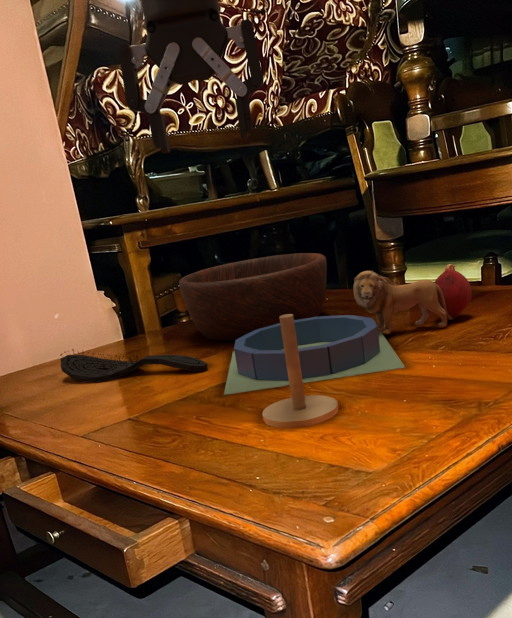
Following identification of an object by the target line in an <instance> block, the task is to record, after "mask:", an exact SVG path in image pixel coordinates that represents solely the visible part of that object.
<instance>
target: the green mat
mask: <svg viewBox="0 0 512 618" xmlns="http://www.w3.org/2000/svg"><path fill="white" fill-rule="evenodd" d="M378 335H379V345H380V353H378V354H377V355H376V356H374V357H373V358H372V359H370V360H369V361H368V362H366V363H364V364H362V365H359V366H356V367H353V368H350V369H347V370H344V371H341V372H337V373H334V374H330V375H324V376H318V377H311V378H304V379H302V380H303V384H309V383H315V382H321V381H329V380H334V379H341V378H348V377H355V376H360V375H368V374H374V373H375V374H376V373H382V372H388V371H392V370H400V369H406V366H405V364H404V363H403V362H402V360H401V359H400V357H399V356H398V354H397V353H396V351H395V350H394V348H393V347H392V346H391V344H390V343H389V341H388V340H387V338H386V337H385V334H382V330H381V331H378ZM328 343H331V342H318V343H312V344H305V345H299V346H298V348H305V347H311V346H318V345H324V344H328ZM281 350H284V349H281ZM281 387H290V385H289V380H255V379H252V378H249V377H246V376H243V375H241V374H239V373H238V369H237V363H236V358H235V352H234V350H233V351H232V355H231V360H230V363H229V367H228V373H227V377H226V382H225V386H224V391H223V396H229V395H235V394H242V393H243V394H244V393H248V392H256V391H262V390H268V389H269V390H270V389H274V388H281Z"/></svg>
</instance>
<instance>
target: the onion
mask: <svg viewBox="0 0 512 618" xmlns="http://www.w3.org/2000/svg"><path fill="white" fill-rule="evenodd" d="M433 282H434V283H436V284H437V285H438V286H439V287H440V289H441V291H442V293H443V296H444V299H445V304H446V310H447V313H448V315H450V316H451V317H452V318H453V320H455V319H457V318H458V317H459V315H461V313H462V312H463V311H464V310H465V309H467V307H468V306H469V304H470V302H471V300H472V297H473V291H472V286H471V283H470V282H469V279H468V278H466V276H465V275H463V274H462V273H461V272H459V271H457V270H456V269H455V265H454V264H452V263H449V264H447V265H446V267H445V269H444V271H443V272H442V273H441V274H440V275H438V276H437V278H436V279H435V280H434V281H433ZM437 298H438V302H439V304H440V306H441V302H440V299H439V296H438V294H437ZM441 307H442V306H441Z"/></svg>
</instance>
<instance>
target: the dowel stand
mask: <svg viewBox="0 0 512 618" xmlns="http://www.w3.org/2000/svg"><path fill="white" fill-rule="evenodd" d="M279 318H280V325H281V332H282V338H283V345H284V351H285V358H286V365H287V371H288V378H289V390H290V397H289V398H285V399H281V400H278V401H275V402H273V403H271V404H269V405H268V406H266V407H265V408H264V409H263V410H262V413H261V416H262V420H263V421H262V422H263V423H264V424H266V425H267V426H269V427H273V428H280V429H296V428H303V427H308V426H313V425H317V424H321V423H323V422H325V421H328V420H330V419H332V418H333V417H334V416H336V415H337V414H338V412H339V403H338V400H337V399H336V398H334V397H331V396H328V395H320V394H318V395H317V394H309V395H308V394H307V395H305V388H304V383H303V380H302V373H301V366H300V359H299V352H298V345H297V338H296V331H295V324H294V317H293V314H286V315H282V316H280V317H279Z"/></svg>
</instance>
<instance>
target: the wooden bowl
mask: <svg viewBox="0 0 512 618" xmlns="http://www.w3.org/2000/svg"><path fill="white" fill-rule="evenodd" d="M327 273H328V265H327V258H326V256H325V255H323V254H322V253H316V252H301V253H300V252H299V253H298V252H297V253H287V254H286V253H285V254H276V255H269V256H268V255H267V256H263V257H262V256H261V257H257V258H256V257H255V258H250V259H244V260H240V261H234V262H228V263H224V264H219V265H216V266H212V267H208V268H204V269H201V270H198V271H195V272H192V273H190V274H188V275H185V276H183V277H181V278H180V280H179V281H178V287H179V291H180V293H181V297H182V299H183V302H184V305H185V308H186V310H187V313H188V315H189V317H190V319H191V321H192V322H193V325H194V326H195V327H196V329H197V330H198V331H199V332H200V333H201V334H202V336H204V337H205V338H207V339H209V340H212V341H217V342H235V341H236V340H237V339H238V338H240V337H242V336H244V335H246V334H248V333H250V332H252V331H254V330H257V329H260V328H264V327H267V326H271V325H275V324H278V323H280V318H279V317H280V316H282V315H286V314H293V317H294V320H299V319H305V318H311V317H319V316H320V314H321V313H322V310H323V306H324V303H325V299H326V294H327V293H326V292H327V279H328V277H327Z"/></svg>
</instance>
